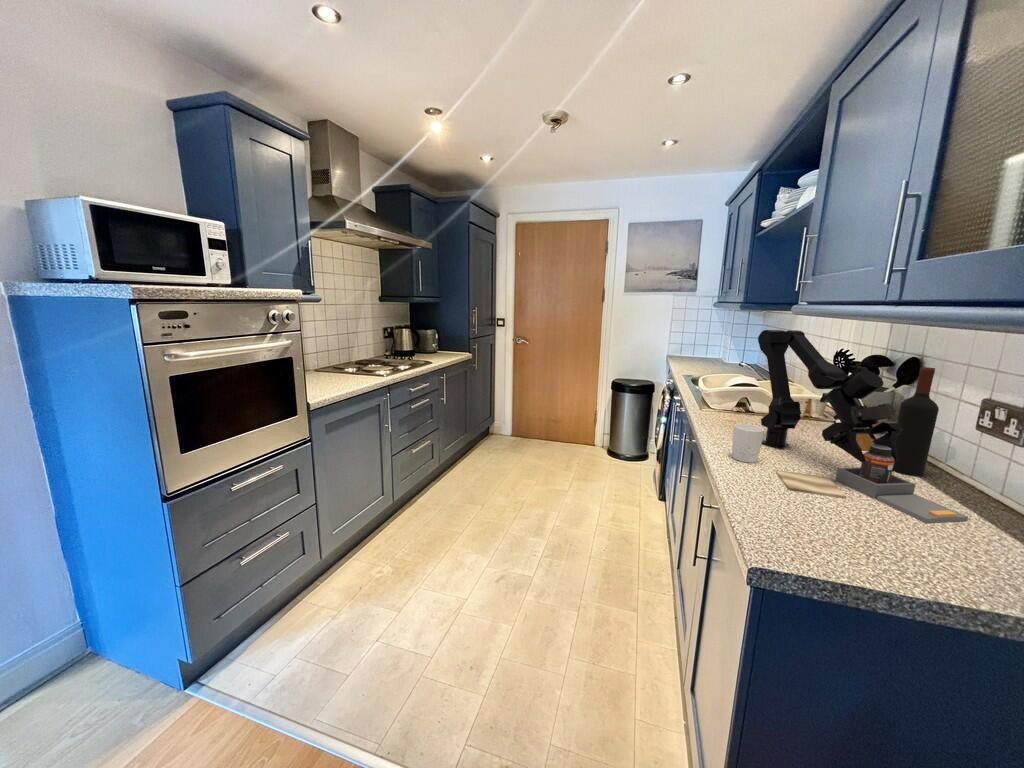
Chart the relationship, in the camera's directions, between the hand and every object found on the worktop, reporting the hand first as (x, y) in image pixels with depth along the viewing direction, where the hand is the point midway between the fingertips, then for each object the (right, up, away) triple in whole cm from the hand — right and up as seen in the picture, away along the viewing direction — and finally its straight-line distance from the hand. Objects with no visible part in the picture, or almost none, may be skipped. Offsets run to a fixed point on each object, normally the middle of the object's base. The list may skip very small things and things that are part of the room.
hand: (880, 461), depth 102 cm
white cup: (-22, -3, +21) cm, 31 cm away
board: (-16, -7, +4) cm, 17 cm away
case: (0, -8, -3) cm, 9 cm away
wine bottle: (+20, -6, +14) cm, 25 cm away
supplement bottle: (0, -8, +2) cm, 8 cm away
